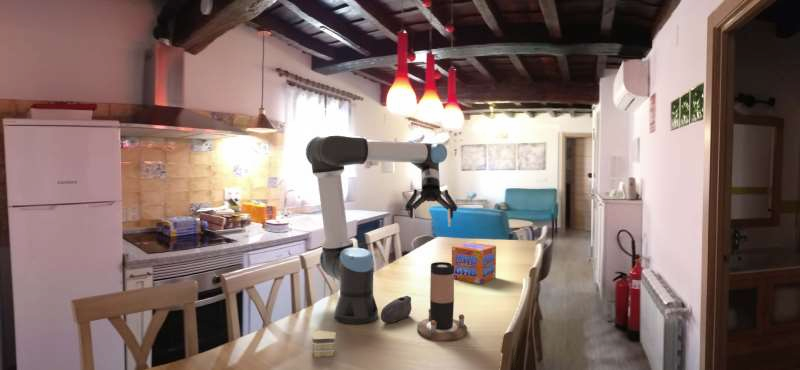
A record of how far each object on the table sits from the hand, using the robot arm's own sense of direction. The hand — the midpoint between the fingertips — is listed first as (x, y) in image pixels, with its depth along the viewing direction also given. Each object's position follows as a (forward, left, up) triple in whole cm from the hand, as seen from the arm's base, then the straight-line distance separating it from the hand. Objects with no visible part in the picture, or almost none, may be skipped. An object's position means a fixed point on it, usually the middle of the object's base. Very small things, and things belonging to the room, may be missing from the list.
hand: (431, 224), depth 158 cm
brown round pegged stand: (-11, -23, -31) cm, 40 cm away
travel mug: (-11, -23, -30) cm, 39 cm away
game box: (+40, +22, -32) cm, 55 cm away
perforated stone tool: (-19, -7, -31) cm, 37 cm away
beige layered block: (-50, -19, -32) cm, 62 cm away
